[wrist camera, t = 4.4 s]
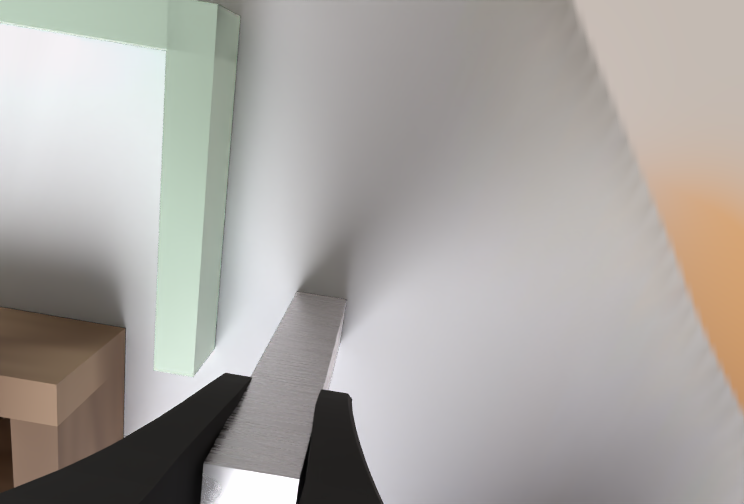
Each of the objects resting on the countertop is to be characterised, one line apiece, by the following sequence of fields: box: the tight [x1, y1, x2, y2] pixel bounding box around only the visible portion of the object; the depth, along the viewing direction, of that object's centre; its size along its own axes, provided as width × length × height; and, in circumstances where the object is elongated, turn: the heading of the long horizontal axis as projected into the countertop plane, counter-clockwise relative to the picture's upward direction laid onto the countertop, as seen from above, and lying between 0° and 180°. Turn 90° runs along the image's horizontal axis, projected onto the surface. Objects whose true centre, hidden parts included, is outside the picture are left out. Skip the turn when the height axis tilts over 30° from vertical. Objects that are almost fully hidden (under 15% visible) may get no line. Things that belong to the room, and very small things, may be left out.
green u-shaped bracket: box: [0, 0, 240, 377], centre depth 14 cm, size 11×10×2 cm
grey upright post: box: [201, 291, 347, 504], centre depth 12 cm, size 2×2×8 cm
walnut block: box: [0, 307, 125, 493], centre depth 16 cm, size 5×5×4 cm
